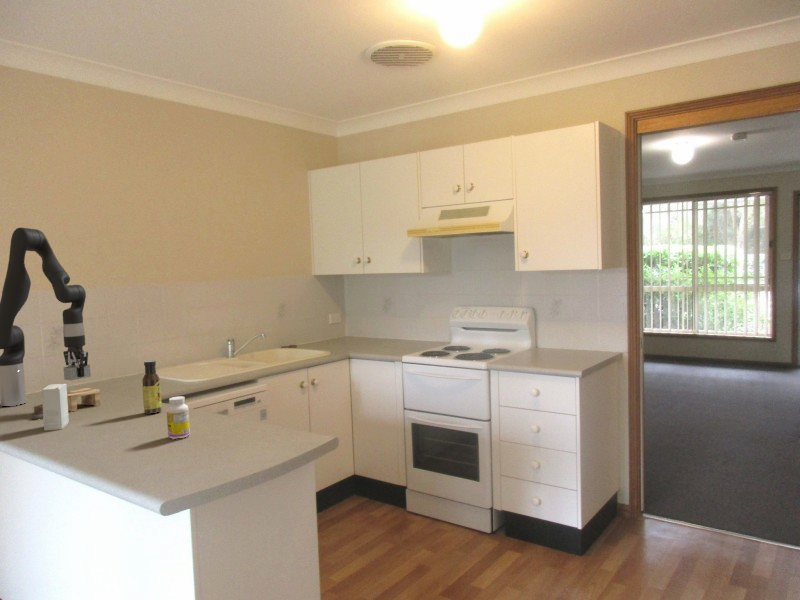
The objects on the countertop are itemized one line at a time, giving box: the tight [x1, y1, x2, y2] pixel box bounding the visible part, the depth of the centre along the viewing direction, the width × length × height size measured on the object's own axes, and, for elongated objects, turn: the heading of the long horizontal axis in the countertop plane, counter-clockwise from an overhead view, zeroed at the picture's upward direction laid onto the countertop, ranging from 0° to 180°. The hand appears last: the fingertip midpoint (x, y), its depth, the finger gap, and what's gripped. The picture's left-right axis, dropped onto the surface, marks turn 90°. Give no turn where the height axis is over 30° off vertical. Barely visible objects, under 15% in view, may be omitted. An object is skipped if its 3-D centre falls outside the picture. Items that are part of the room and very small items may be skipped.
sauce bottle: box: [141, 360, 163, 415], centre depth 224 cm, size 6×6×20 cm
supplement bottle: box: [166, 396, 191, 439], centre depth 190 cm, size 7×7×13 cm
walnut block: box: [33, 403, 43, 415], centre depth 227 cm, size 4×4×4 cm
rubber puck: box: [31, 414, 44, 421], centre depth 222 cm, size 4×4×2 cm
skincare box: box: [41, 383, 69, 431], centre depth 208 cm, size 8×6×15 cm
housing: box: [63, 363, 91, 381], centre depth 237 cm, size 8×5×5 cm, turn 149°
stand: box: [67, 387, 101, 413], centre depth 238 cm, size 10×12×6 cm
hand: (77, 376), depth 238 cm, fingers closed on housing, 4 cm apart
